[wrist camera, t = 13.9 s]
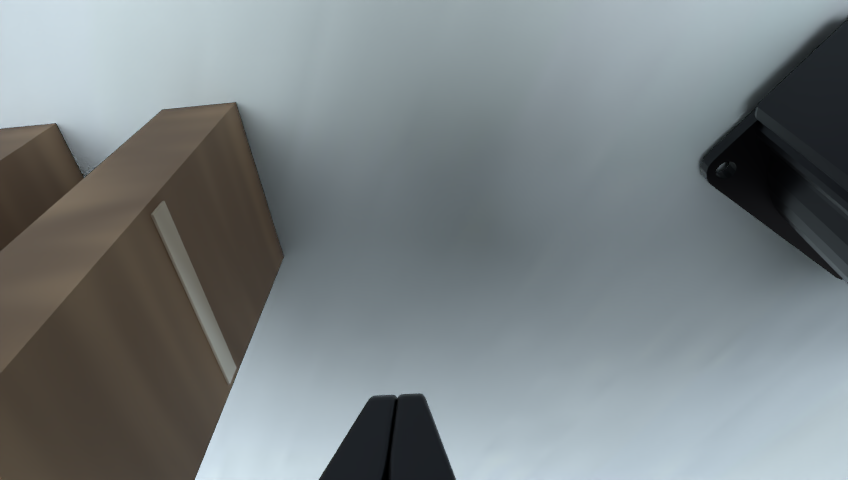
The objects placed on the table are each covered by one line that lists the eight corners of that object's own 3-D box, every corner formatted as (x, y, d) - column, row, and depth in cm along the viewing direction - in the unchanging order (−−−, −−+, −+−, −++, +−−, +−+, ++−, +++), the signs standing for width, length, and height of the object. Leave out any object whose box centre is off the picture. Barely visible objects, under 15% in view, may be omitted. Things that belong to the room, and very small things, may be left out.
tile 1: (237, 102, 14) (-42, 426, 6) (285, 256, 17) (140, 624, 9) (160, 109, 14) (-215, 436, 6) (220, 261, 17) (17, 625, 9)
